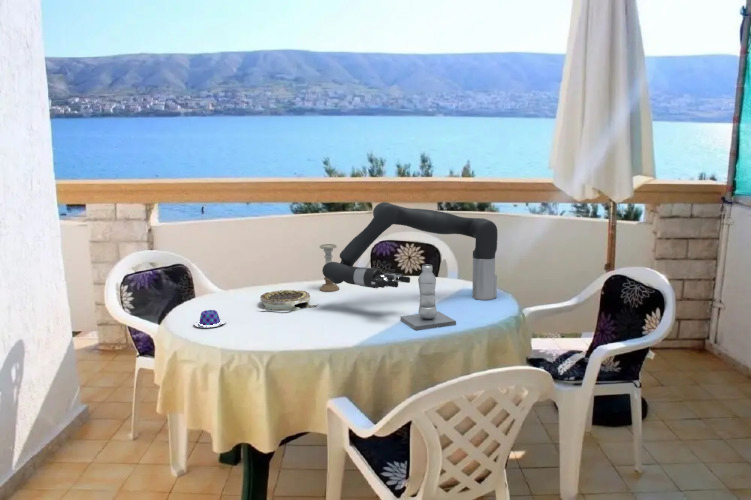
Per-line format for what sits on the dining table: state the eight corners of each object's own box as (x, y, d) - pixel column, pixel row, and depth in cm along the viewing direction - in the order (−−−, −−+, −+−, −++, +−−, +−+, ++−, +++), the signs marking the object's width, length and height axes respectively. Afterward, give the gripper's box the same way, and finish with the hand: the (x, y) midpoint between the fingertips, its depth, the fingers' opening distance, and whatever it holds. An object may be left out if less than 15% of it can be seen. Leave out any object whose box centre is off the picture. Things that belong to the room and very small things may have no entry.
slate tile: (438, 315, 249) (438, 311, 248) (456, 324, 236) (456, 320, 235) (400, 320, 243) (400, 316, 243) (415, 330, 230) (415, 326, 230)
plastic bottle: (435, 321, 236) (435, 267, 232) (417, 320, 237) (416, 267, 233) (437, 316, 242) (437, 263, 238) (419, 315, 243) (419, 263, 240)
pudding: (189, 324, 244) (188, 310, 243) (219, 318, 251) (218, 305, 250) (199, 332, 235) (198, 318, 234) (231, 326, 241) (230, 312, 240)
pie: (239, 310, 263) (238, 298, 262) (274, 295, 288) (273, 284, 287) (299, 316, 252) (299, 304, 251) (330, 300, 277) (330, 289, 276)
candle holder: (343, 288, 294) (341, 244, 290) (331, 292, 287) (330, 247, 283) (327, 286, 299) (326, 243, 295) (315, 290, 292) (314, 246, 288)
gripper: (357, 271, 245) (393, 276, 236) (378, 264, 256) (413, 269, 247) (357, 290, 246) (393, 296, 237) (378, 283, 258) (413, 288, 249)
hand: (403, 282), depth 242 cm, fingers open, 8 cm apart
